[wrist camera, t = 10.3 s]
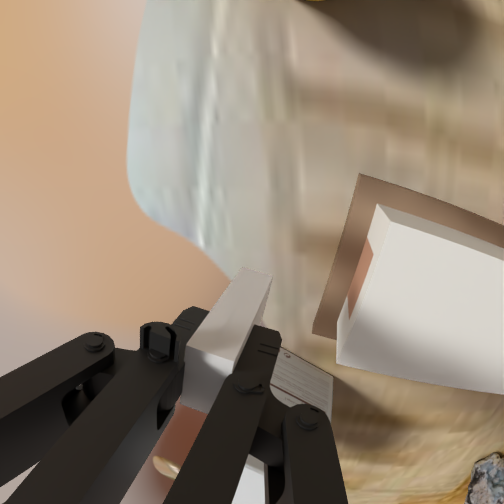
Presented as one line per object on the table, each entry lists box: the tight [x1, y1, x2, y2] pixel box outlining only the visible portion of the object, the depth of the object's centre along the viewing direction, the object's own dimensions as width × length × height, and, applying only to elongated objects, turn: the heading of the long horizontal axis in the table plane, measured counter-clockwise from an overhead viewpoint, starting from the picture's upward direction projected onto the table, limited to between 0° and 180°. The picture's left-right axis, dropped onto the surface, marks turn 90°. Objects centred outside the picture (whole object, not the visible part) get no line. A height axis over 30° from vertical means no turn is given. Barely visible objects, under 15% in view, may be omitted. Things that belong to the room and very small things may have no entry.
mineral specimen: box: [464, 452, 504, 504], centre depth 25 cm, size 10×8×10 cm
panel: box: [336, 204, 504, 394], centre depth 18 cm, size 9×16×5 cm, turn 78°
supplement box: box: [232, 347, 333, 504], centre depth 22 cm, size 7×7×13 cm
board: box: [312, 173, 504, 340], centre depth 19 cm, size 12×24×4 cm, turn 78°
